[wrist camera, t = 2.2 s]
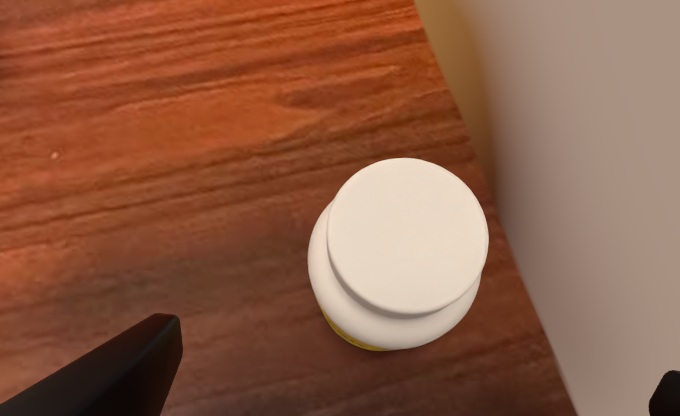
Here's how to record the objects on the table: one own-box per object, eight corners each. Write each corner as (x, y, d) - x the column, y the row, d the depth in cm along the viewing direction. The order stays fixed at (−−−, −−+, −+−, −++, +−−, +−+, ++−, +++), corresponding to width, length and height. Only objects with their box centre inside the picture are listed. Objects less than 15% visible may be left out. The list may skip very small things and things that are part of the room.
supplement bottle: (300, 259, 20) (267, 171, 10) (403, 219, 20) (457, 103, 11) (343, 372, 18) (348, 384, 9) (454, 324, 19) (566, 288, 9)
